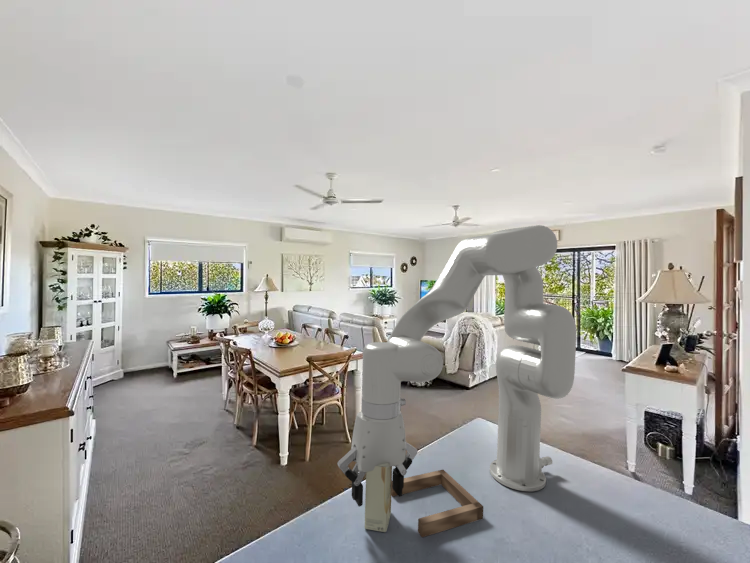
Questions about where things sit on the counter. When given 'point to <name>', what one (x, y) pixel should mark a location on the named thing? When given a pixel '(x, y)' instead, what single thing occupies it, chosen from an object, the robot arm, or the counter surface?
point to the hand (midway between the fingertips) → (377, 496)
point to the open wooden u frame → (448, 518)
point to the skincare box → (378, 497)
